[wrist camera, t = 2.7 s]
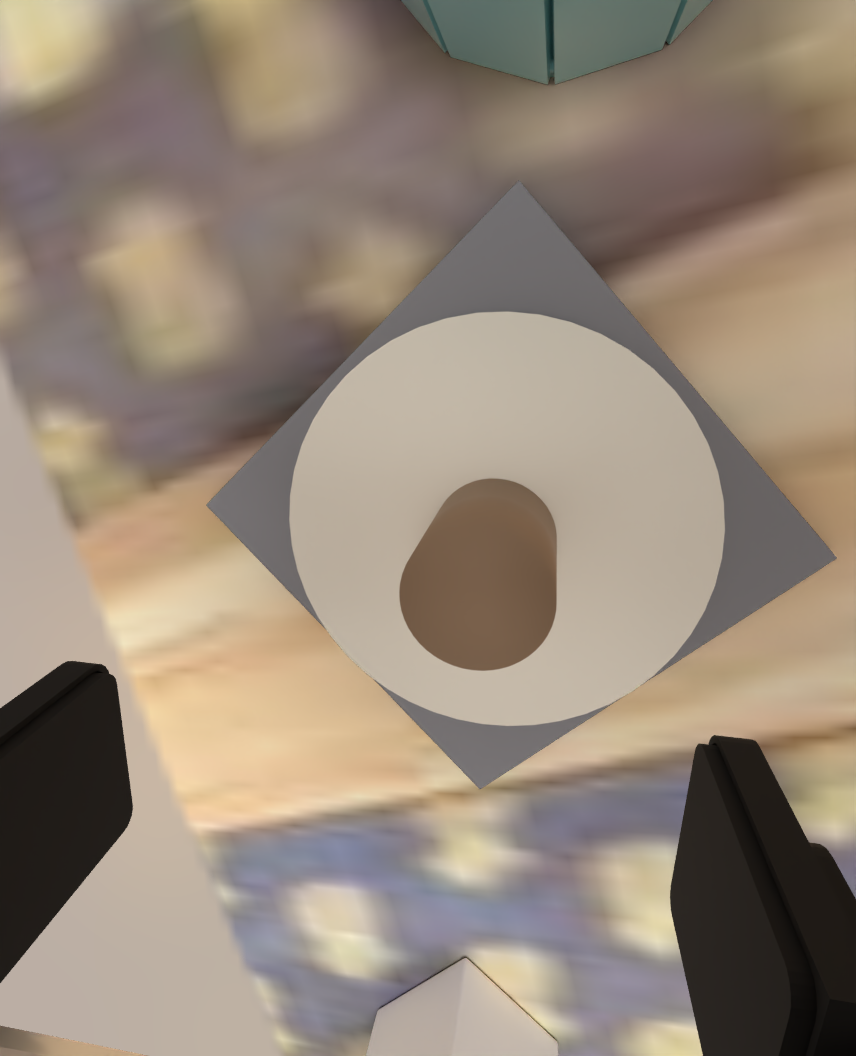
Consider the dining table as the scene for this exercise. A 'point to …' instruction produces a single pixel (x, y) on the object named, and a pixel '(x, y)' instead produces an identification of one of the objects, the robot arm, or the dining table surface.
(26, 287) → the dining table surface
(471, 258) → the mat
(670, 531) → the lid
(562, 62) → the bowl
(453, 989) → the milk
